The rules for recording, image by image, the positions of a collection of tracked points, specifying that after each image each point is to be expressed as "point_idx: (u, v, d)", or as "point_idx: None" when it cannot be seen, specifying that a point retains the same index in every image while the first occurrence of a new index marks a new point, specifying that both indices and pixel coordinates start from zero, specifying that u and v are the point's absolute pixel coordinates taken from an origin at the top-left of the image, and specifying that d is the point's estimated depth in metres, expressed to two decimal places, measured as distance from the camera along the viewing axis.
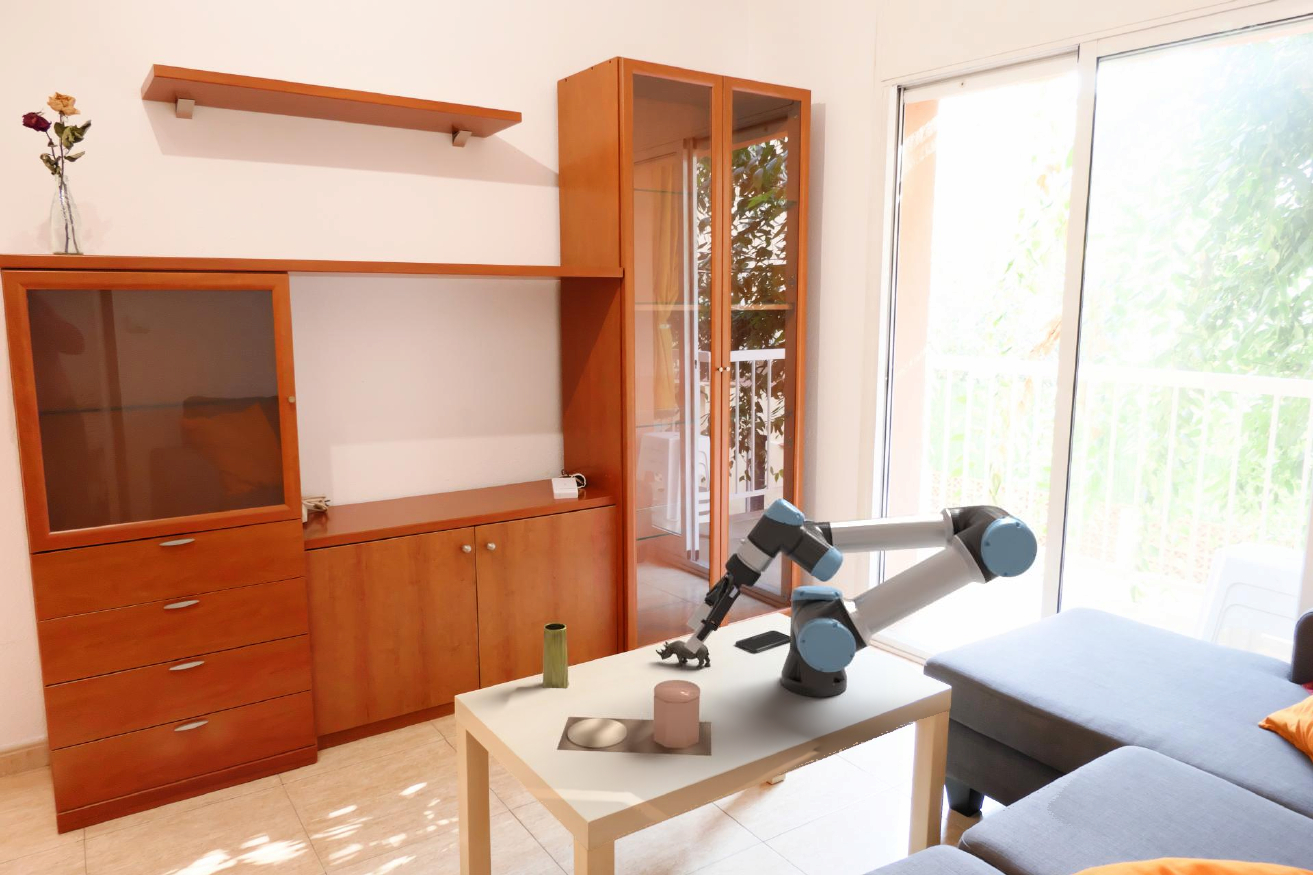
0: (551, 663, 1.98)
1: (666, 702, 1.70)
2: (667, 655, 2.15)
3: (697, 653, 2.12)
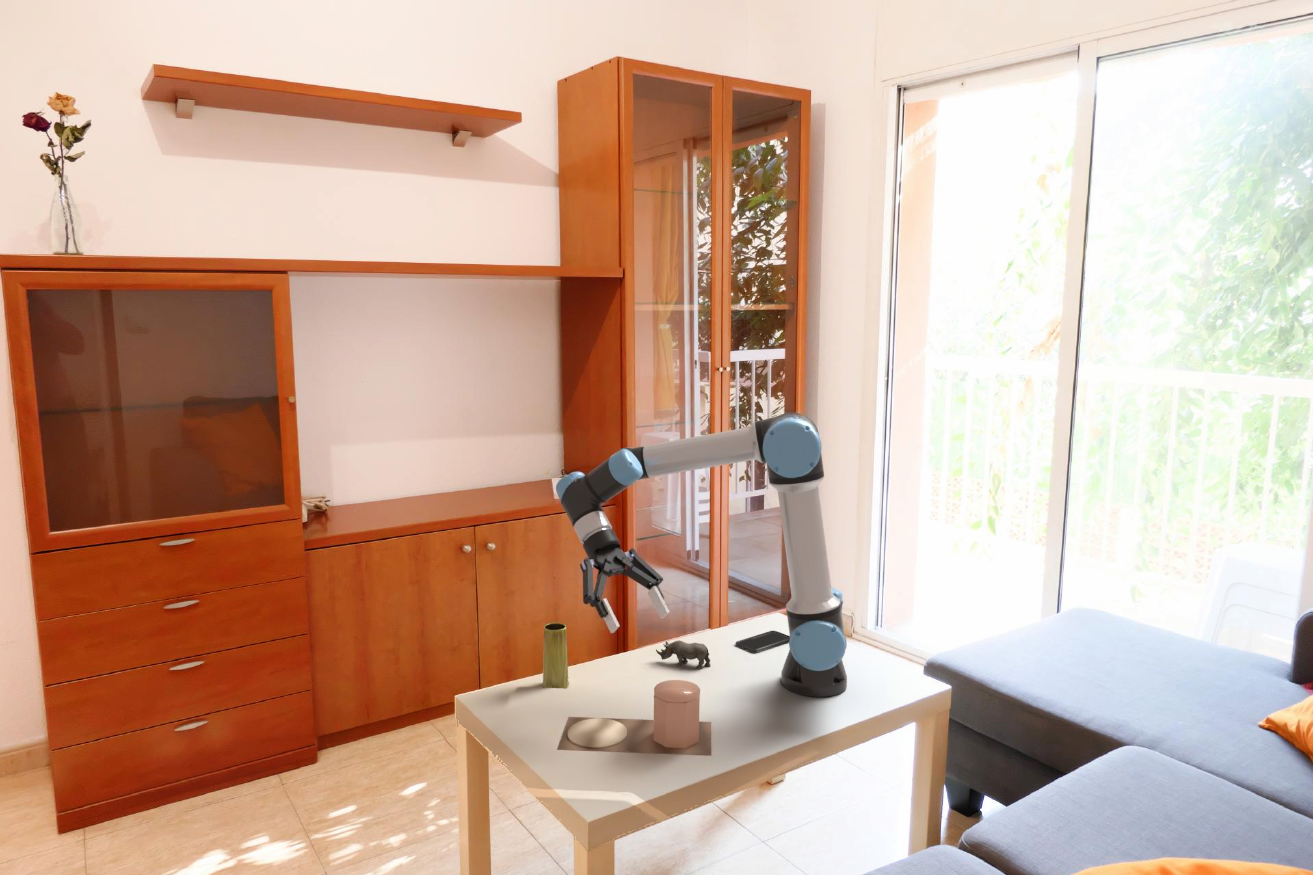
0: (551, 663, 1.98)
1: (666, 702, 1.70)
2: (667, 655, 2.15)
3: (697, 653, 2.12)
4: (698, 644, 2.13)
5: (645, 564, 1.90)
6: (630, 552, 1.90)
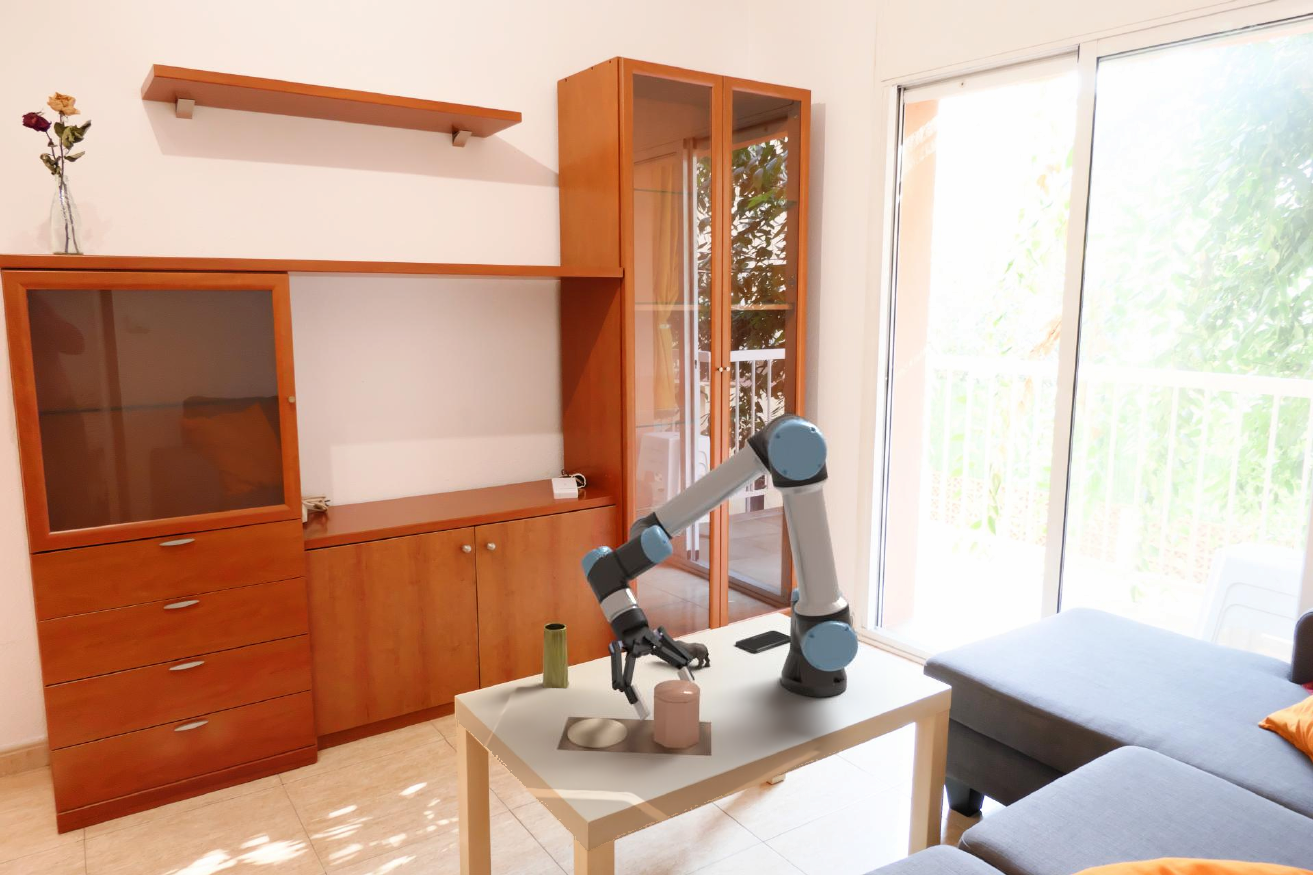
0: (551, 663, 1.98)
1: (666, 702, 1.70)
2: None
3: (697, 653, 2.12)
4: (698, 644, 2.13)
5: (674, 643, 1.84)
6: (658, 630, 1.85)
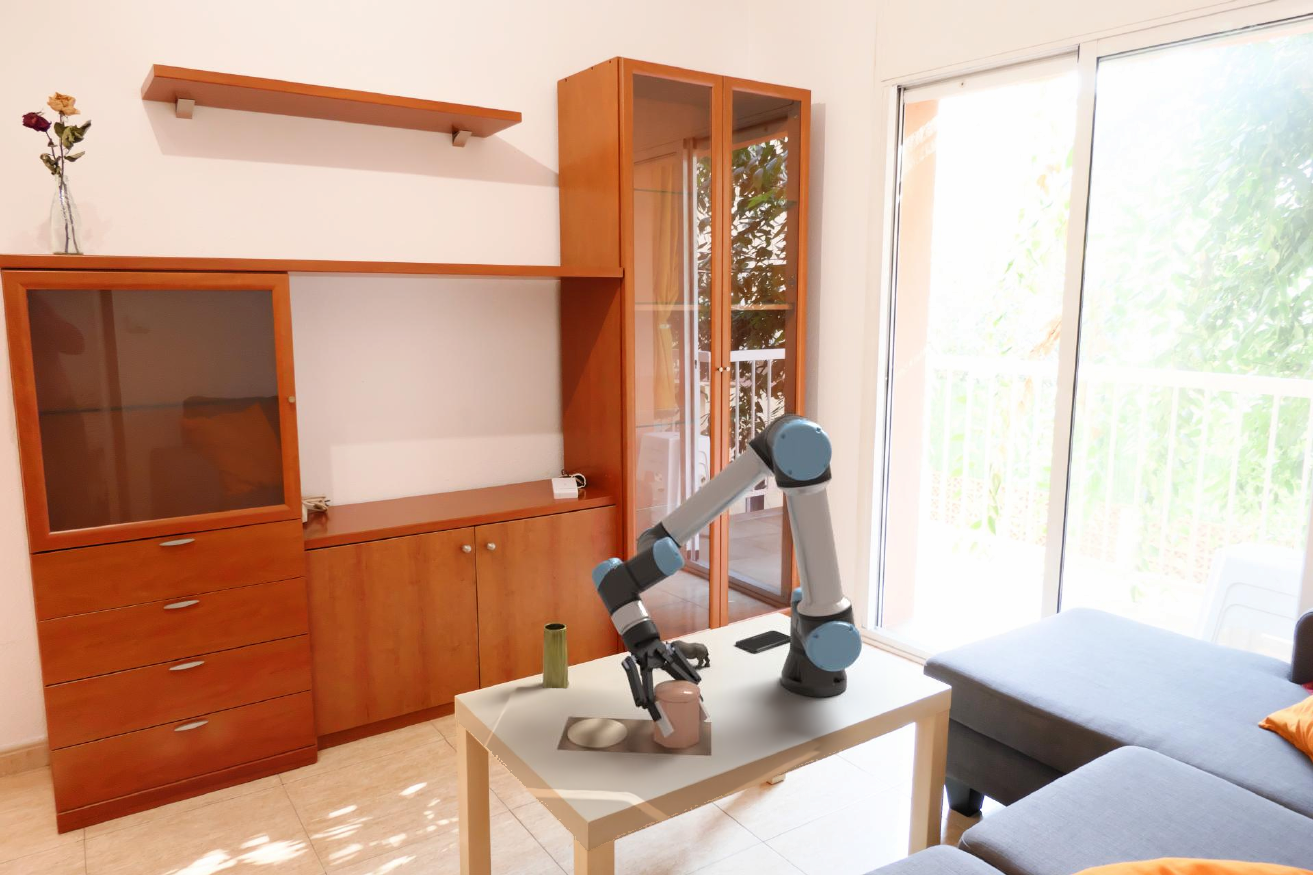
0: (551, 663, 1.98)
1: (666, 702, 1.70)
2: None
3: (696, 653, 2.12)
4: (698, 644, 2.13)
5: (685, 660, 1.81)
6: (671, 645, 1.83)
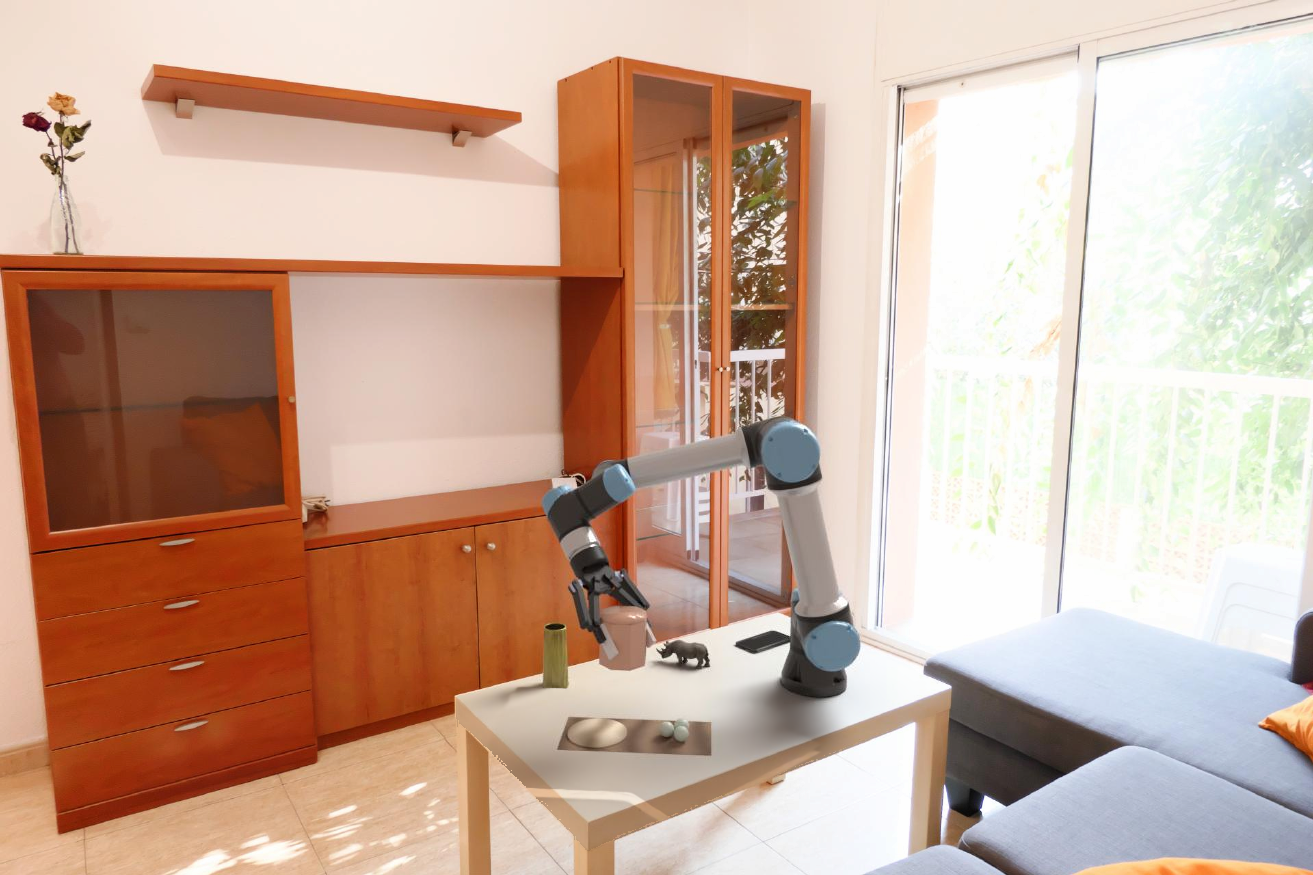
0: (551, 663, 1.98)
1: (611, 624, 1.68)
2: (667, 654, 2.15)
3: (696, 653, 2.12)
4: (698, 644, 2.13)
5: (634, 587, 1.80)
6: (620, 572, 1.81)
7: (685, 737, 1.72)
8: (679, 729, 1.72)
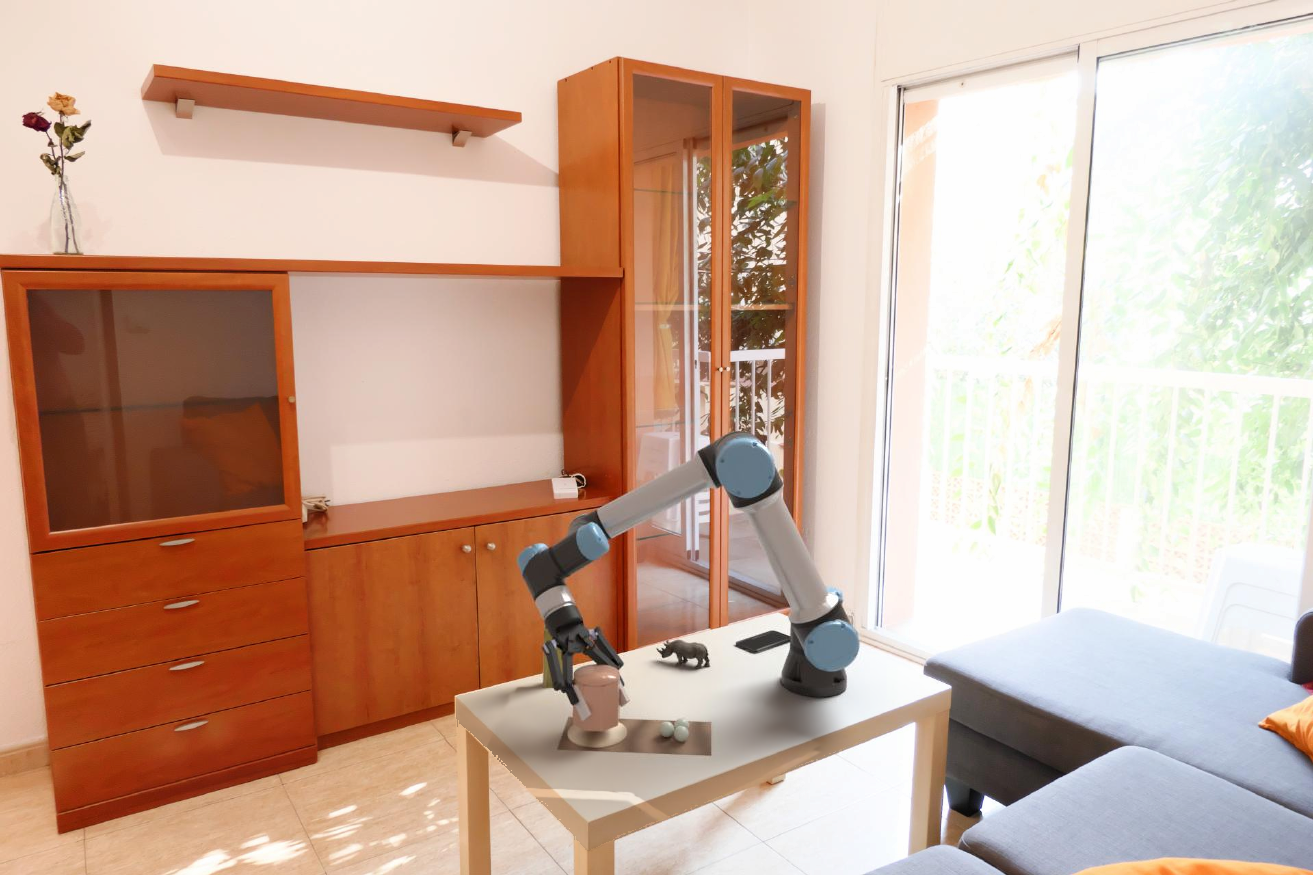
0: None
1: (584, 685, 1.70)
2: (667, 654, 2.16)
3: (696, 653, 2.12)
4: (697, 644, 2.13)
5: (608, 645, 1.82)
6: (595, 630, 1.83)
7: (685, 737, 1.72)
8: (679, 729, 1.72)
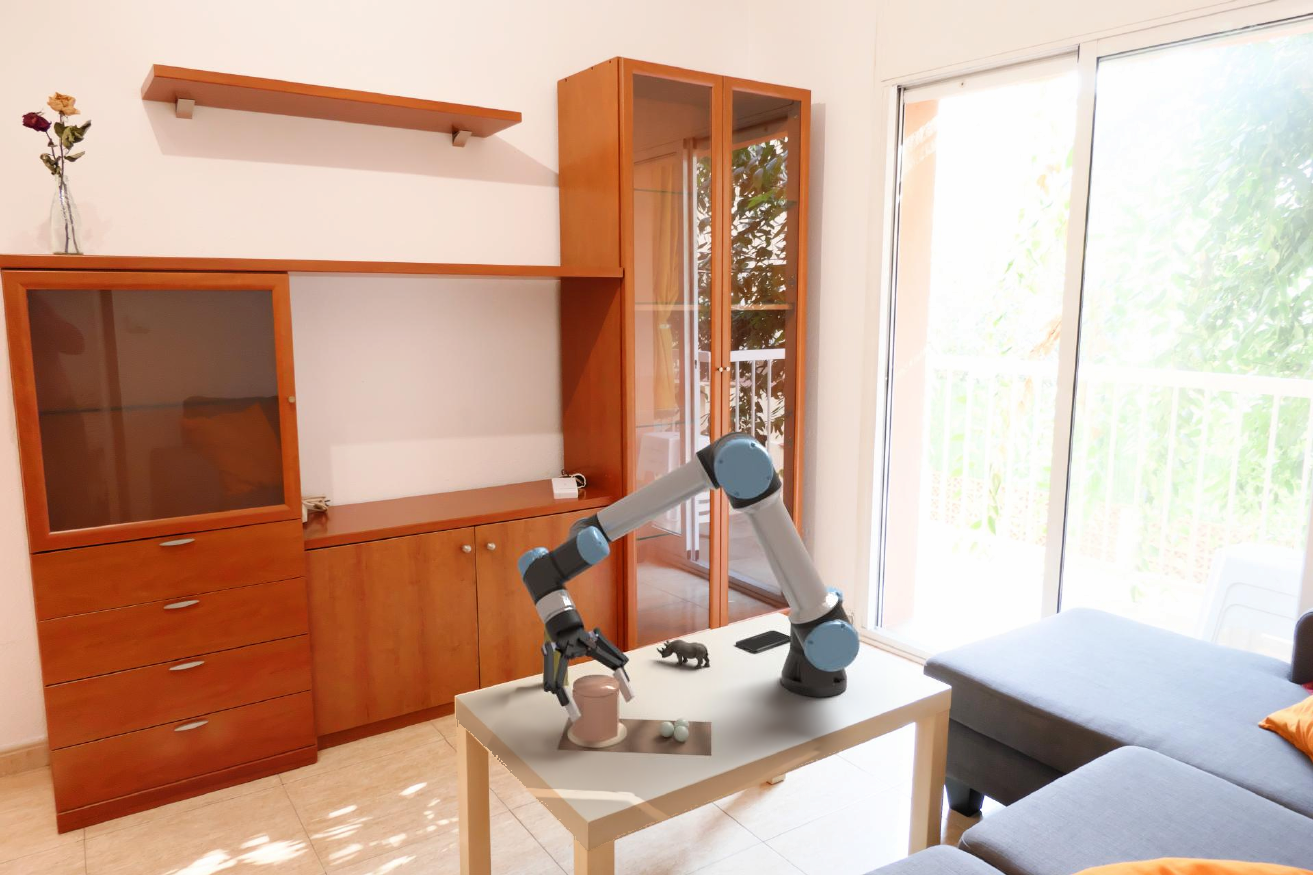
0: None
1: (583, 696, 1.71)
2: (667, 654, 2.16)
3: (696, 653, 2.12)
4: (697, 644, 2.13)
5: (610, 644, 1.83)
6: (594, 632, 1.84)
7: (685, 737, 1.72)
8: (679, 729, 1.72)
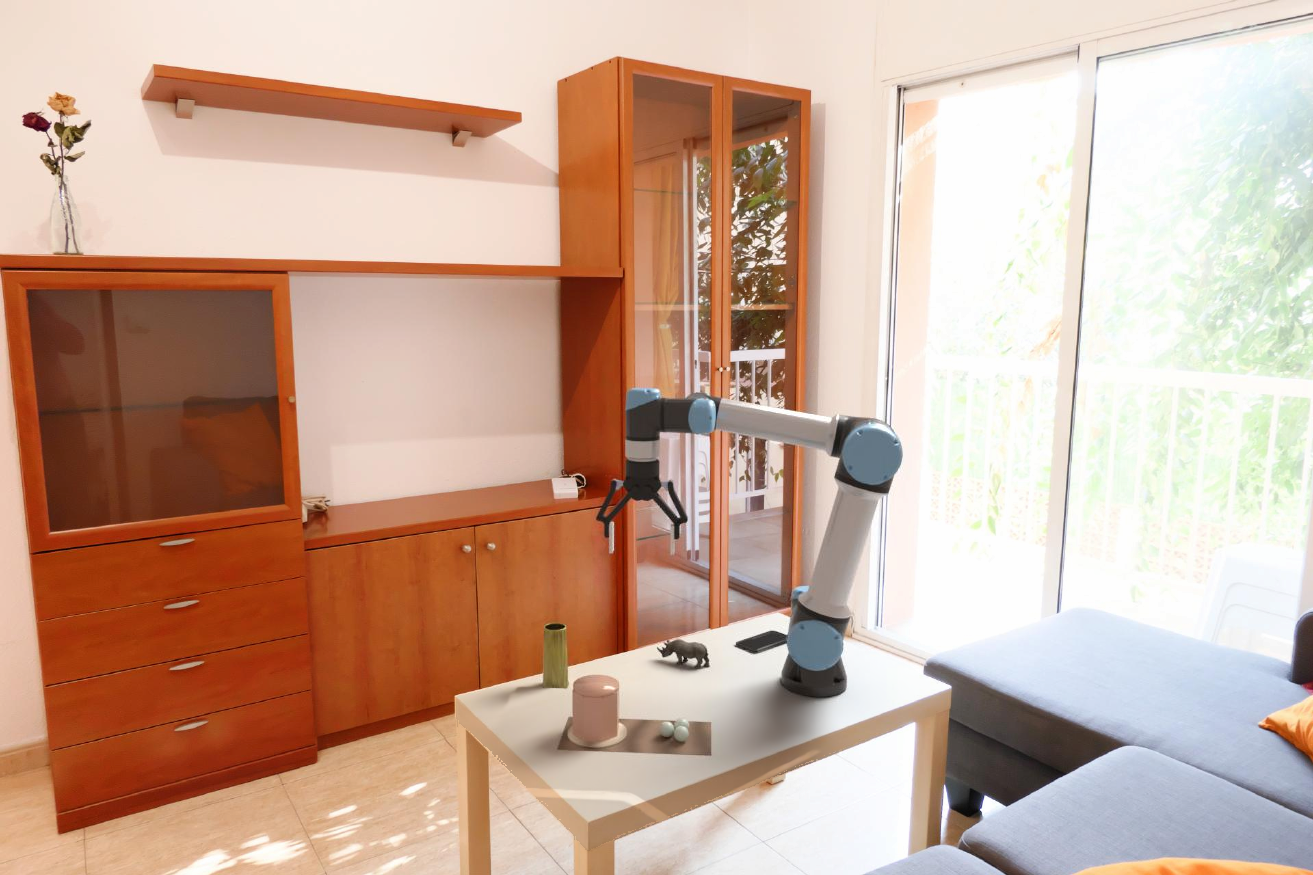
0: (551, 663, 1.98)
1: (583, 696, 1.71)
2: (667, 653, 2.16)
3: (695, 653, 2.12)
4: (697, 644, 2.13)
5: (675, 501, 1.91)
6: (667, 484, 1.91)
7: (685, 737, 1.72)
8: (679, 729, 1.72)
